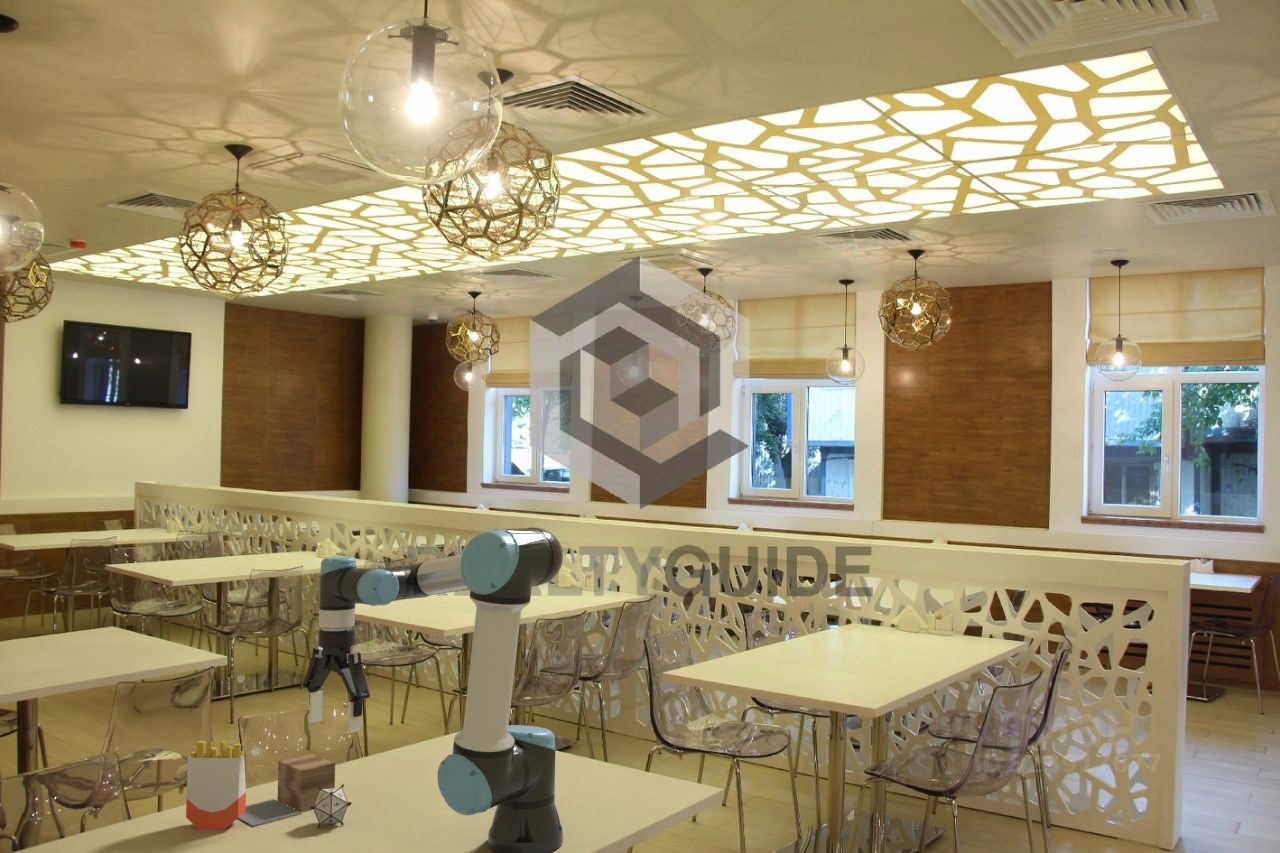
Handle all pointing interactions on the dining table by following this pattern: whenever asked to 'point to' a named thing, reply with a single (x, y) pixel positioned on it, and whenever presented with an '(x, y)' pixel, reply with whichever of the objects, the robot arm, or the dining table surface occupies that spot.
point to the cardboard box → (304, 780)
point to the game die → (330, 806)
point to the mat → (266, 812)
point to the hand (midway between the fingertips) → (334, 726)
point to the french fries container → (215, 786)
